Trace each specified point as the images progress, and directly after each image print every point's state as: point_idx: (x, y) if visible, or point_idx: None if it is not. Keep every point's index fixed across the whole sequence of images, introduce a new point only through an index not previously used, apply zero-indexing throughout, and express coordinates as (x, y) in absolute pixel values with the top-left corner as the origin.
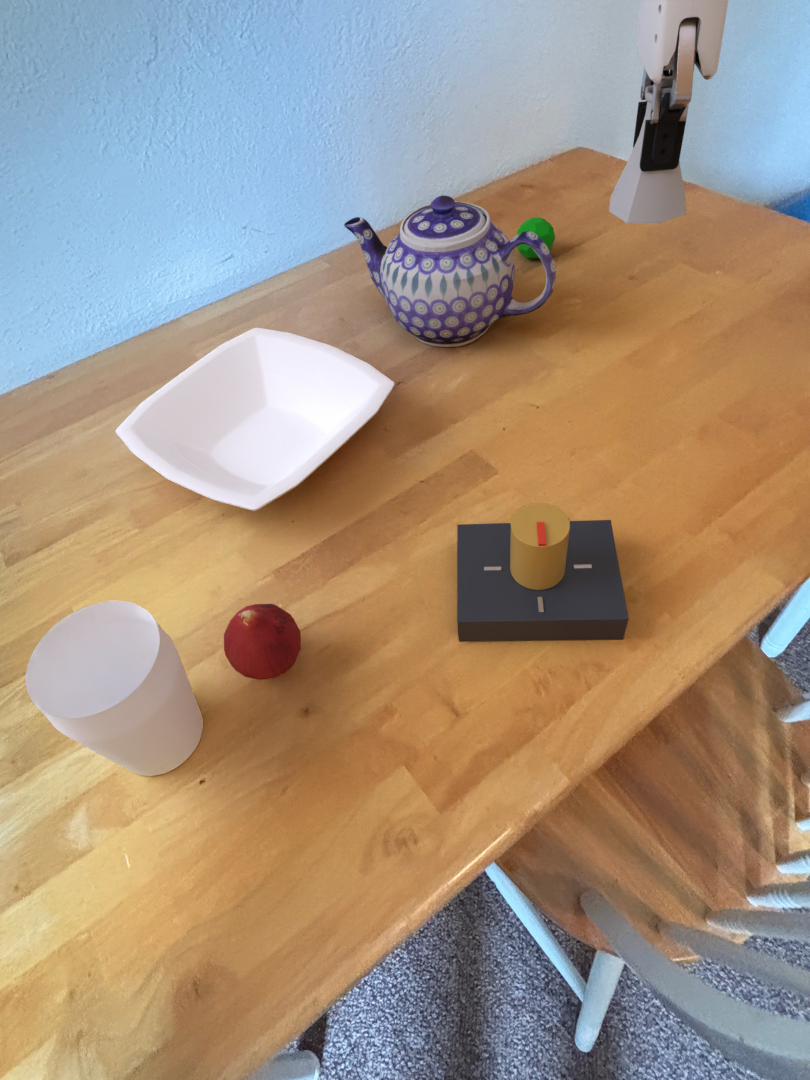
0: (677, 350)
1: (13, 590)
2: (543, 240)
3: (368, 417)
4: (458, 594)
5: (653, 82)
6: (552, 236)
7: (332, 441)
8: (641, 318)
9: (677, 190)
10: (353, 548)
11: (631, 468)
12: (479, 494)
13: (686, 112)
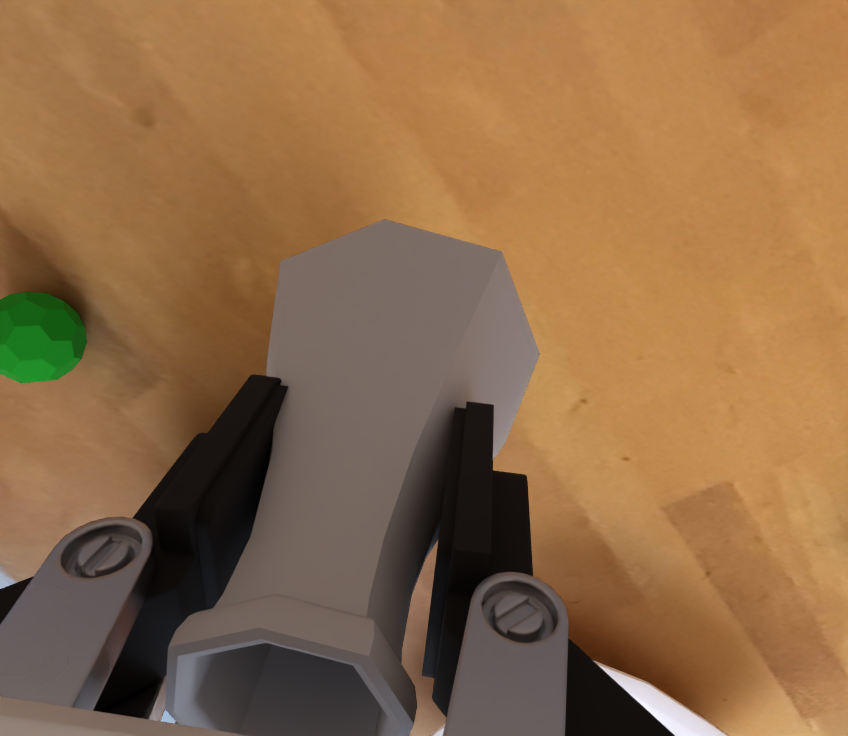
0: (461, 82)
1: None
2: (57, 332)
3: (660, 695)
4: None
5: (105, 692)
6: (35, 309)
7: (700, 733)
8: (321, 137)
9: (486, 332)
10: (804, 651)
11: (808, 280)
12: (767, 511)
13: (563, 634)
